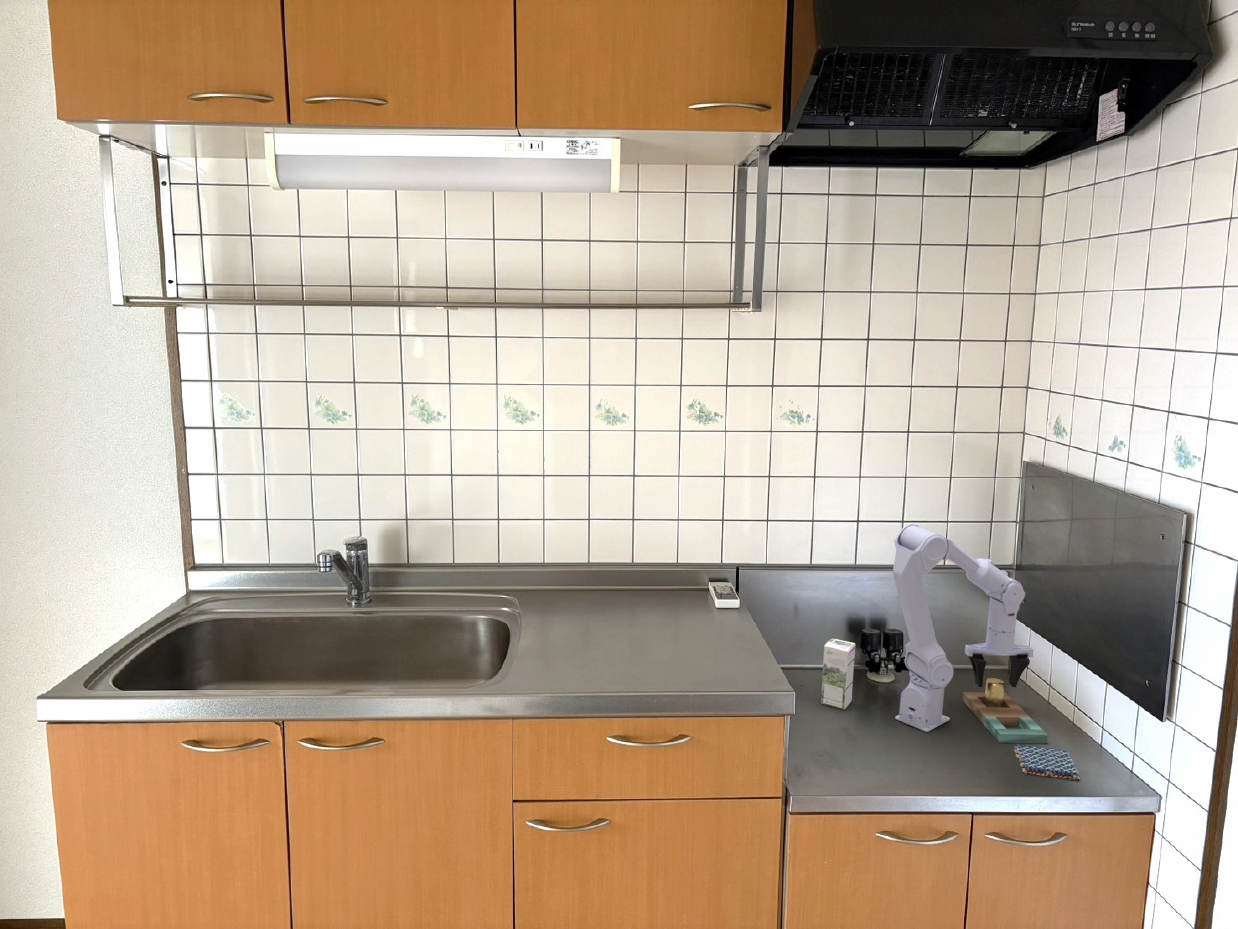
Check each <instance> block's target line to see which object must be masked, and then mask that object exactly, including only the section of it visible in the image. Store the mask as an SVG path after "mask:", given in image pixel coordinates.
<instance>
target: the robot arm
mask: <svg viewBox="0 0 1238 929" xmlns="http://www.w3.org/2000/svg"><path fill="white" fill-rule="evenodd" d="M893 543H894V545H895V549H896V550H895V556H894V563H893V569H892V575H893V578H894V579H893V580H894V581H895V582H894V583H895V587H896V590H897V594H898V598H899V602H900V607H901V610H902V615H903V619H904V622H905V627H906V630H907V633H908V634H907V635H908V638H909V639H908V640H909V641H908V642H907V643H906V644H905V645H904V649H905V656H904V657H905V658H904V664H905V667H906V668H907V670H909V673H908V675H909V677H910V678H909V683H908V685H907V687H905V688H903V690H902V692H901V693H900V700H899V714H898V715H896V716H895V720H897V721H899V722H902V723H905V724H906V725H909V726H912V727H913V728H916V729H918V730H920V731H923V732H925V733H927V732H928V733H929V732H930V731H932V730H934V729H935V728H939V726H942V725H944V723H946V722H948V721H950V720H951V719H950V717H949V716H946V715H943V707H944V696H945V688H946V687H947V685H949V683H950V682H952V679H953V677H954V666H953V664H952V663H951V662H950V661H949V659H948V658H947V655H946V652H945V651H944V650H943V648H942V646H941V645H940V644H939V643H938V641H937V638H936V634H935V633H936V632H935V629H934V625H933V620H932V615H931V613H930V608H929V604H928V600H927V596H926V591H925V588H924V584H923V579H922V578H923V576H925V575H927V574H928V573H929V572H930V571H932V570H933V569H934V567H936V566H937V565H938V564H939V563H940V562H941V561H947V560H949V561H950V562H952V563H953V564H955V565H956V566H958V567H959V568H961V569H963V570H964V571H965V576H966V578H967V580H968V581H970V582H971V583H973V584H974V585H975V586H977V587H978V588H979V589H981V590H982V591H984V593H985V595H986V596H987V597H989V604H988V615H987V625H986V626H987V627H986V638H985V642H981V643H974V644H965V645H964V646H965V647H964V654H965V655H967V657H968V659H969V661H970V663H971V667H972V670H973V675H974V681H975V682H974V683H975V685H977V687H978V688H982V687H983V683H984V674H985V669H986V665H987V663H988V662H987V661H986V660H985V657H984V656H1002V657H1003V656H1005V657H1007V656H1009V674H1008V675H1009V677H1008V684H1009V685H1010V686H1011V687H1012V688H1016V687H1017V685H1018V682H1019V681H1020V678H1021V676H1022V674H1023V672H1025V670H1026V669H1027V667H1028V666H1030V664H1031V660H1030V658H1033V657H1034V647H1031V646H1030V645H1022V644H1015V635H1016V634H1015V633H1016V624H1017V614H1018V612H1019V611H1020V605H1021V603H1022V602H1023V601H1024V599H1025V596H1026V592H1025V591H1024V588H1023V585H1022V583H1021V582H1020V581H1018V580H1016V579H1014V578H1011V577H1009V576H1008V575H1009V572H1007V571H1005V570H1002V569H1001V570H1000V569H999V568H998V567H997V566H995V562H994V561H993V560H991V559H990V558H986V559H985V558H976V559H975V558H974V556H972V555H970V553H968V552H967V551H966V550H964V549H963V548H962V547H961V546H959V545H958V544H957V543H955V542H954V541H953V540H951V539H949V538H947V537H945V536H943V535H942V534H940V533H935V532H932V531H930V530H928V529H926V528H923V527H921V526H919V525H918V524H915V523H909V524H906V525H905V526H903V527H902V528H901V529H900V530H899V532H898V534H897V535H896V537H895V538H894V541H893Z"/></svg>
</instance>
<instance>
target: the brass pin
mask: <svg viewBox="0 0 1238 929" xmlns="http://www.w3.org/2000/svg"><path fill="white" fill-rule="evenodd" d="M985 683H986V684H985V691H984V692H985V701H984V705H985V706H986V707H995V708H1002V705H1003V695H1004V693H1005V681H1004V680H1002V679H999V678H994V677H989V678H987V679H986V682H985Z"/></svg>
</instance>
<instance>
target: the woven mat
mask: <svg viewBox="0 0 1238 929" xmlns="http://www.w3.org/2000/svg"><path fill="white" fill-rule="evenodd" d="M1058 750H1059V751H1058ZM1013 751H1014V752H1015V757H1016V758H1017V759H1018V758H1019V759H1018V760H1019V762H1020V764H1019V766H1021V768H1022V769H1023V770H1022V769H1021V770H1022V772H1023V773H1024V774H1027V773H1030V774H1029V775H1034V774H1036V776H1041V777H1042V776H1043V777H1048V778H1049V777H1051V778H1056V777H1062V778H1061V779H1064V778H1065V777H1067V778H1071V779H1074V781H1080V780H1081V778H1080V777H1079V774H1080V773H1079V770H1078V769H1076V768H1077V766H1076V765H1075V763H1074V761H1073V759H1072V758H1071V757H1070V753H1069V752H1067V750H1063V751H1062V749H1061V748H1059V749H1053V748H1052V747H1050V748H1045V747H1043V746H1042V748H1041V747H1036V745H1034V746H1031V745H1030V746H1029V745H1028V744H1025V746H1024V745H1022V744H1021V745H1020V743H1016V746H1014V749H1013ZM1042 772H1043V773H1042ZM1056 774H1057V775H1056ZM1068 775H1069V776H1068ZM1071 779H1070V780H1071ZM1078 779H1079V780H1078Z"/></svg>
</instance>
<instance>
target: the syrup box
mask: <svg viewBox="0 0 1238 929" xmlns="http://www.w3.org/2000/svg"><path fill="white" fill-rule="evenodd" d="M855 655H856V643H855V642H850V641H847V640H841V639H838V638H831V639H829V640H827V641H826V643H825V644H824V646H823V662H822V678H821V679H822V680H821V696H820V704H821V705H826V706H829V707H833V708H837V709H840V710H845V709H846V708H847V707H848V706H849V705H850V704H851V702H852V700H853V683H854V682H853V681H854V667H855V658H856V657H855Z"/></svg>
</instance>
